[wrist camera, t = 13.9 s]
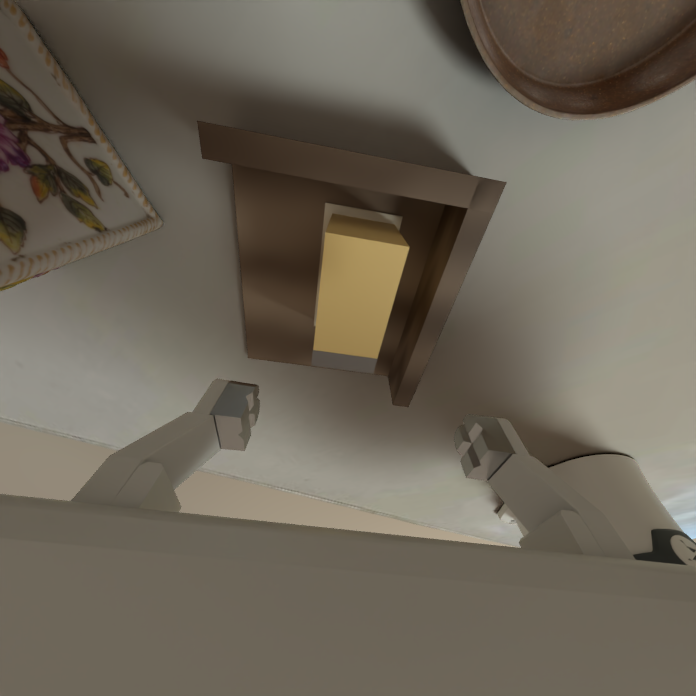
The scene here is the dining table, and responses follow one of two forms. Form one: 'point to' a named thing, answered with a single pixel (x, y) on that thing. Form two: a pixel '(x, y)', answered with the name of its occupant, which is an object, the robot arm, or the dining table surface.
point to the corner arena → (309, 235)
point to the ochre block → (356, 291)
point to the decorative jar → (55, 165)
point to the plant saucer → (586, 52)
